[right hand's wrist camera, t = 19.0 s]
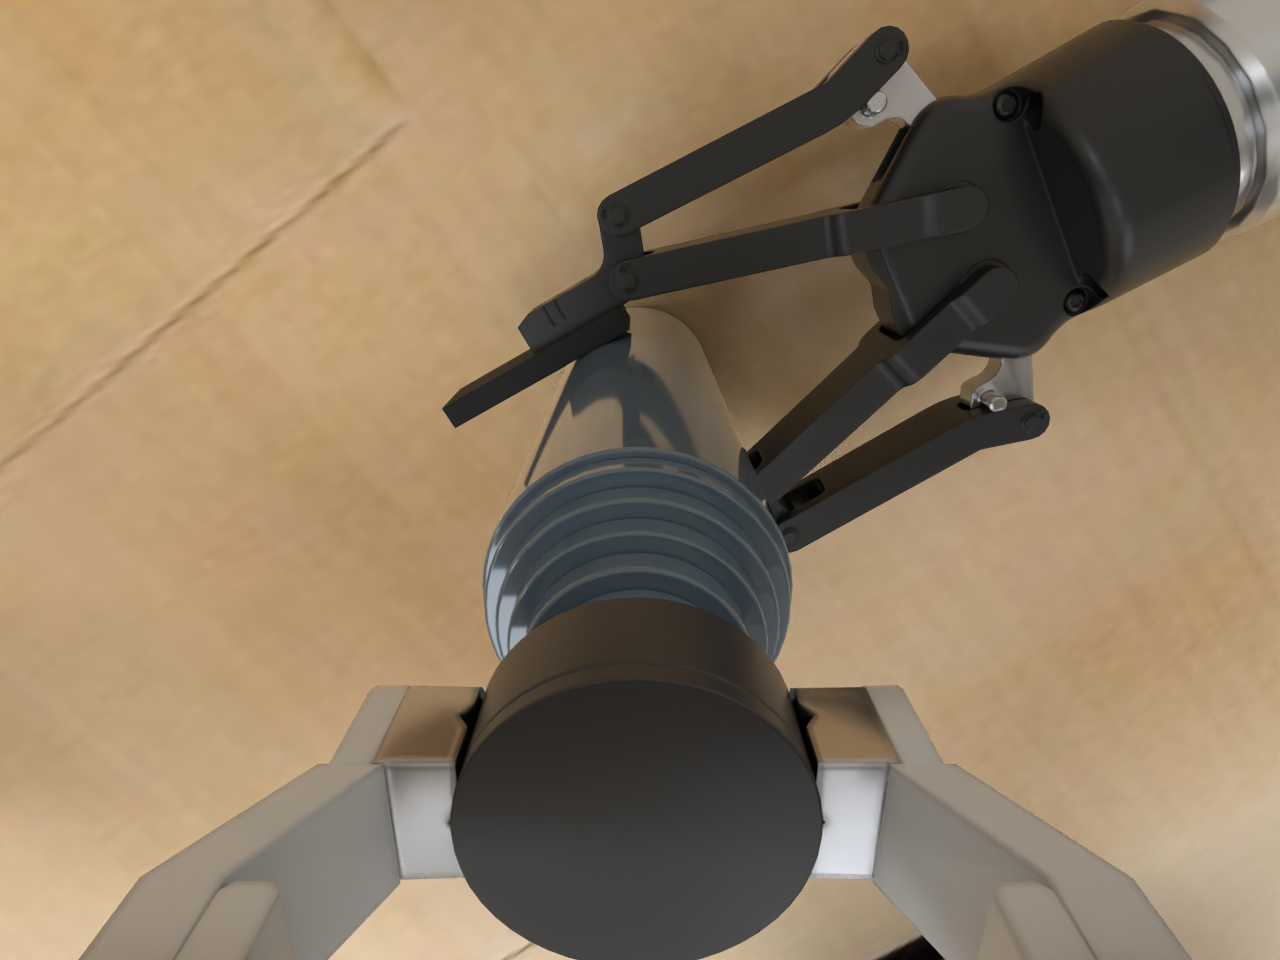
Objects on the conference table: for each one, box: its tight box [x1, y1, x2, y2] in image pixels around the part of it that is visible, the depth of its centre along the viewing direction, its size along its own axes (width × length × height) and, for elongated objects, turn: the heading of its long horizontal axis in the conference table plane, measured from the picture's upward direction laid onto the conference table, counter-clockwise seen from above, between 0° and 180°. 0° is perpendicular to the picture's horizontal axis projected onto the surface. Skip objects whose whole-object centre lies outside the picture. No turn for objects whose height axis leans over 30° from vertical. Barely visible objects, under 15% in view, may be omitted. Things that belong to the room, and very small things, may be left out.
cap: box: [450, 597, 823, 960], centre depth 10 cm, size 4×4×2 cm
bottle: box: [483, 307, 793, 663], centre depth 20 cm, size 6×6×24 cm
